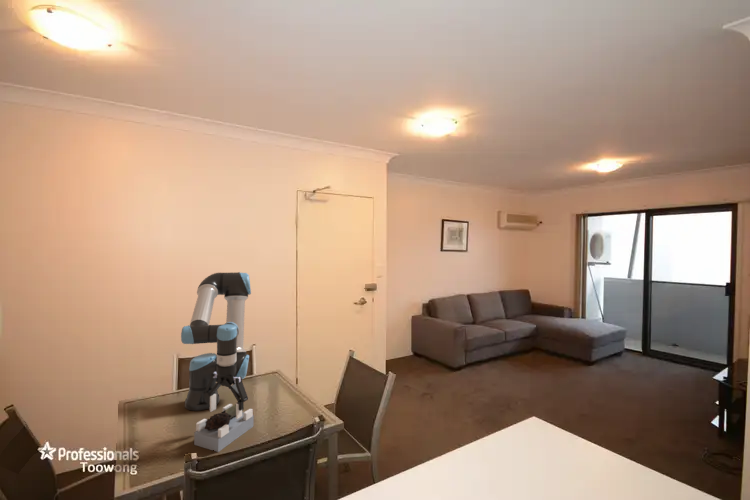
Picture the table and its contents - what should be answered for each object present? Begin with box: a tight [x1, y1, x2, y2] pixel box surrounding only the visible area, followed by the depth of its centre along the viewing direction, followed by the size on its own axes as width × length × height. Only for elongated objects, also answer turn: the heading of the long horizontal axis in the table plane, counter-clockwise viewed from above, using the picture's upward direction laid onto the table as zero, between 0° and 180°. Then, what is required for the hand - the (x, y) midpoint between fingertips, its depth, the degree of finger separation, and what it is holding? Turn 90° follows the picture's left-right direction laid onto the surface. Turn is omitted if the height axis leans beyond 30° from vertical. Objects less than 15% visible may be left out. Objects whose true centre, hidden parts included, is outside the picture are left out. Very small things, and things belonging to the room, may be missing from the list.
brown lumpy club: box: [205, 403, 245, 430], centre depth 146 cm, size 18×7×6 cm, turn 159°
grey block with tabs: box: [193, 403, 255, 453], centre depth 145 cm, size 12×20×8 cm, turn 160°
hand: (225, 413), depth 146 cm, fingers open, 13 cm apart
